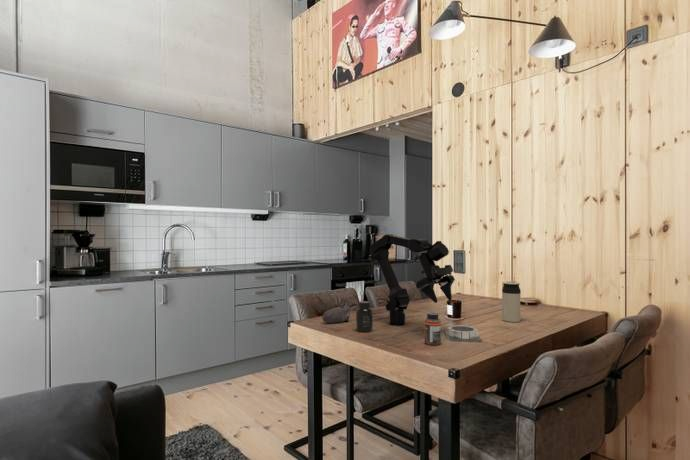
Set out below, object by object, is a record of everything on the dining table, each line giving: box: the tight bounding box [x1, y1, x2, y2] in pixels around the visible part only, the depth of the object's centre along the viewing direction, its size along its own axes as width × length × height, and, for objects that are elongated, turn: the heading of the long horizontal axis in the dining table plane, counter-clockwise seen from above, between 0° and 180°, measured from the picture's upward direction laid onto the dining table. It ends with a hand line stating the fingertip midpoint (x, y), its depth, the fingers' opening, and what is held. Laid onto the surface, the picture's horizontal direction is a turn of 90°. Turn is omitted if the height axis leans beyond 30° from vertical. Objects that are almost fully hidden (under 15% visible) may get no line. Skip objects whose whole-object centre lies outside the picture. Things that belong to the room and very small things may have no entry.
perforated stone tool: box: [321, 305, 351, 324], centre depth 188 cm, size 15×5×7 cm, turn 120°
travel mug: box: [501, 280, 522, 323], centre depth 193 cm, size 8×8×18 cm
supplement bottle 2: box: [424, 311, 442, 346], centre depth 153 cm, size 6×6×11 cm
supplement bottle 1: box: [355, 300, 374, 333], centre depth 173 cm, size 7×7×12 cm
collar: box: [444, 324, 483, 343], centre depth 162 cm, size 12×12×3 cm
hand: (443, 301), depth 165 cm, fingers open, 9 cm apart
